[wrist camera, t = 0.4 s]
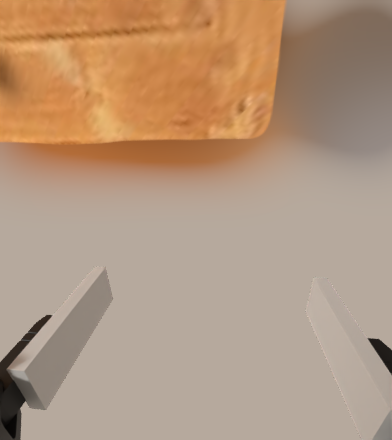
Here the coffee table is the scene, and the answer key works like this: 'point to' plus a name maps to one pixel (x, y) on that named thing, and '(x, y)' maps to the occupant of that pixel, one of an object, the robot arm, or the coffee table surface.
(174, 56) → the coffee table surface
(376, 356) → the robot arm
